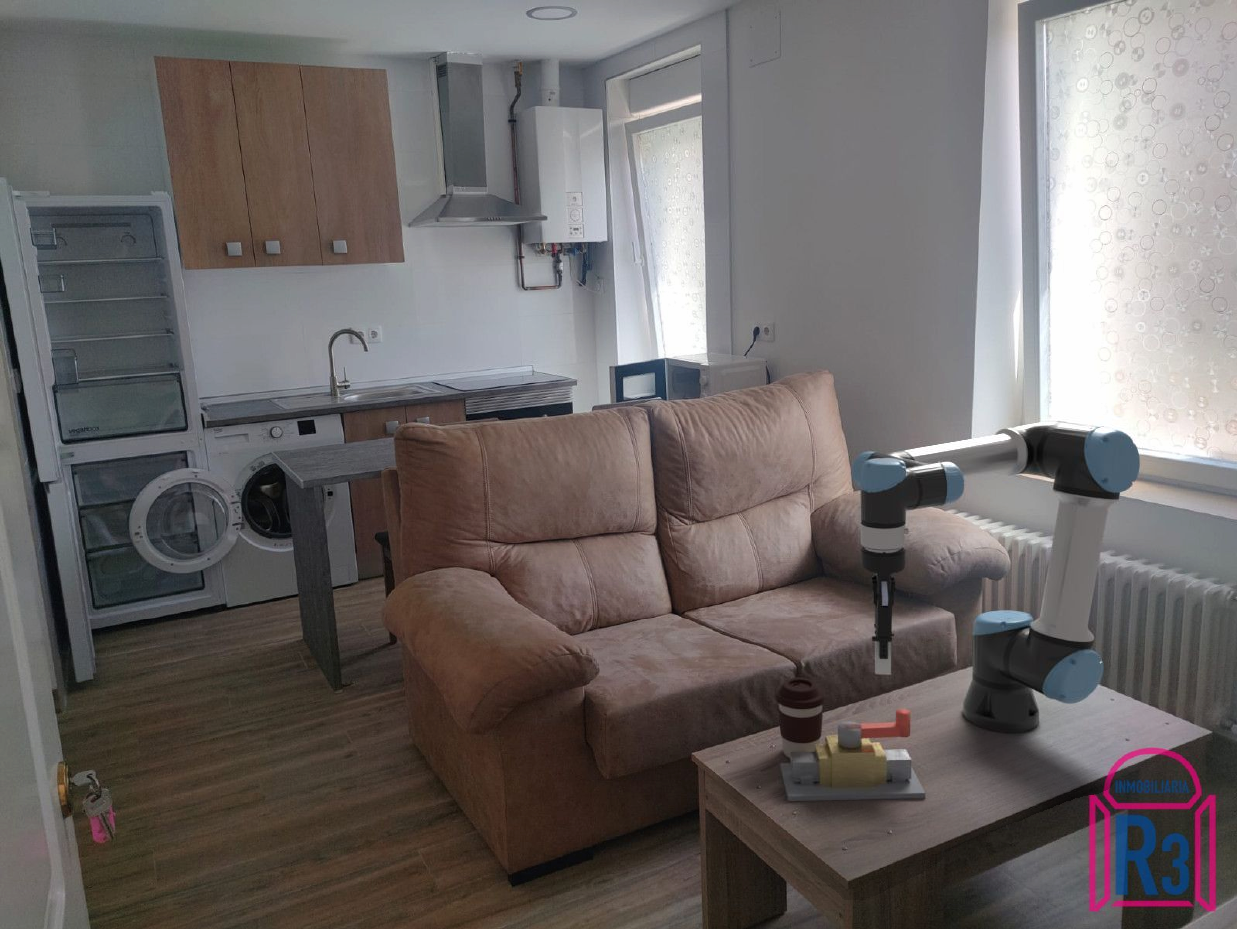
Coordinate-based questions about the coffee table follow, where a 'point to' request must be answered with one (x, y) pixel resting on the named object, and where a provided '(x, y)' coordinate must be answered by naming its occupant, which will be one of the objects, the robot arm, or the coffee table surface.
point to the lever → (873, 730)
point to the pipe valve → (850, 765)
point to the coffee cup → (800, 714)
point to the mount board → (850, 789)
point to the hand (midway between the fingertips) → (882, 672)
